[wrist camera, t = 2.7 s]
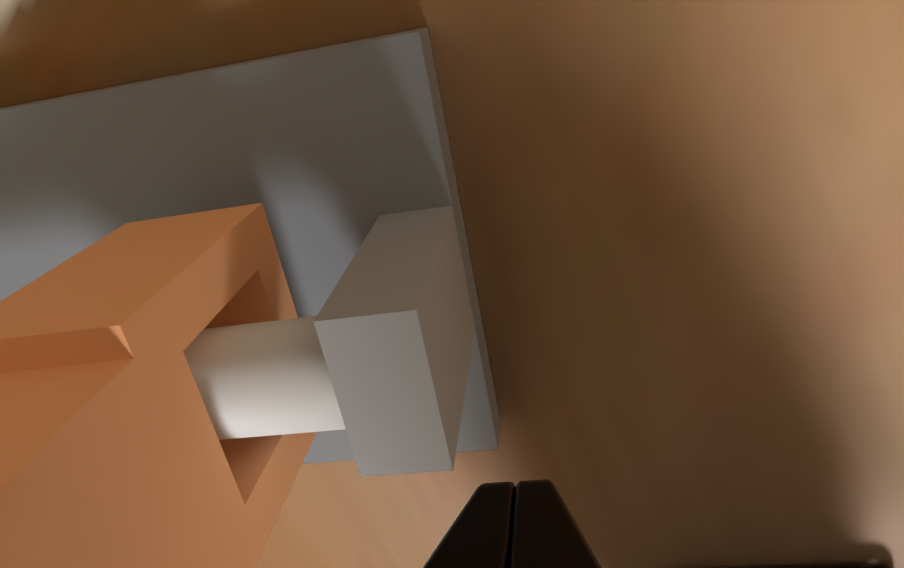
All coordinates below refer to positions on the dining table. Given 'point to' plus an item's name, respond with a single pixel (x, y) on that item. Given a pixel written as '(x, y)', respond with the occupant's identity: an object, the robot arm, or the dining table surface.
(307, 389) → the rail stand
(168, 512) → the collar
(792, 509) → the dining table surface
